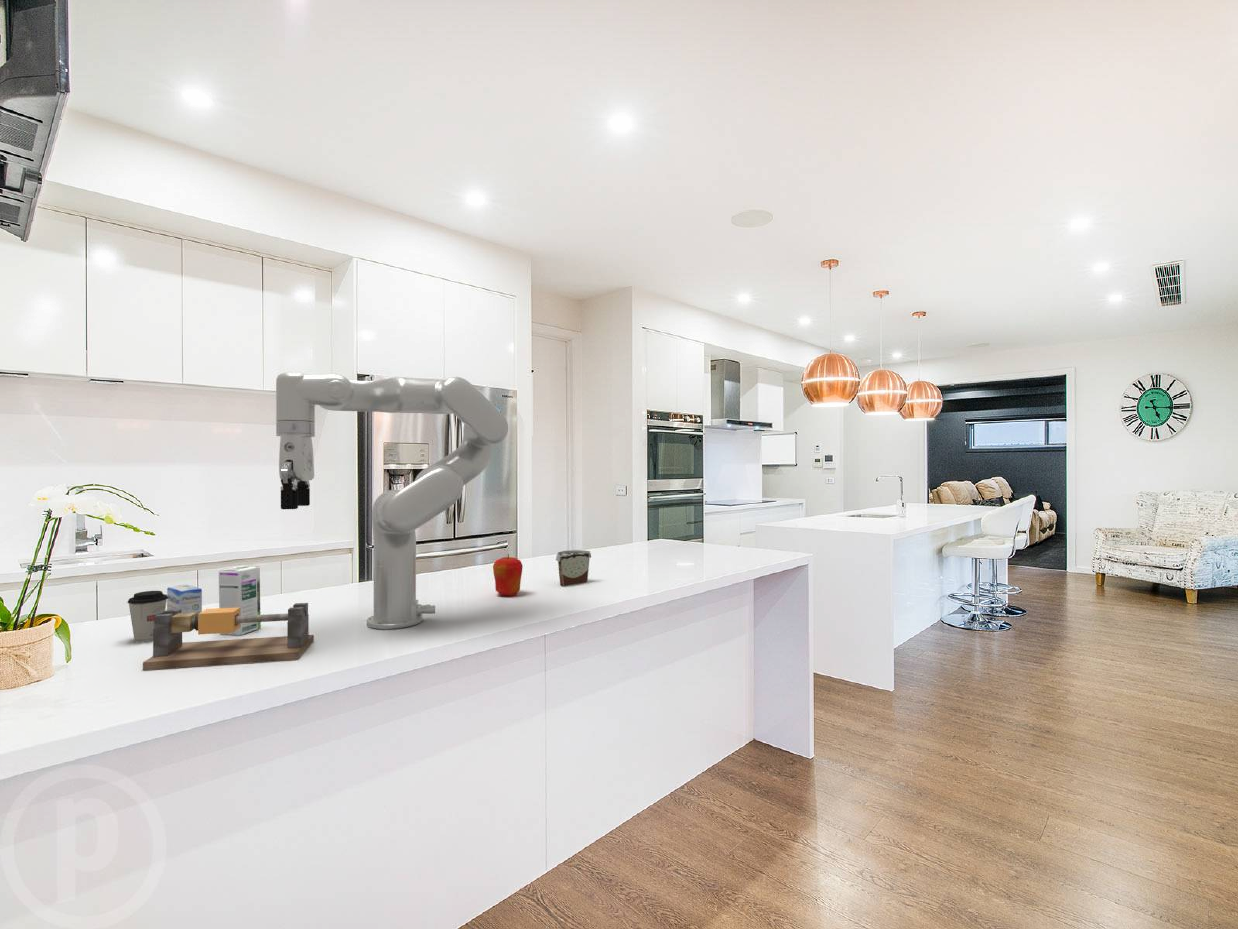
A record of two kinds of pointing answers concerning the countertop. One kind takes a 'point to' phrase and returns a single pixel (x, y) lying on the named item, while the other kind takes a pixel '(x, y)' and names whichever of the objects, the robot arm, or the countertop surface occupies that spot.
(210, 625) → the sleeve
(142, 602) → the black-capped travel mug
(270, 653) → the rail
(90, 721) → the countertop surface
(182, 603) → the medicine box
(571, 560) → the food container
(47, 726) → the countertop surface
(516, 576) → the apple
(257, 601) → the syrup box
